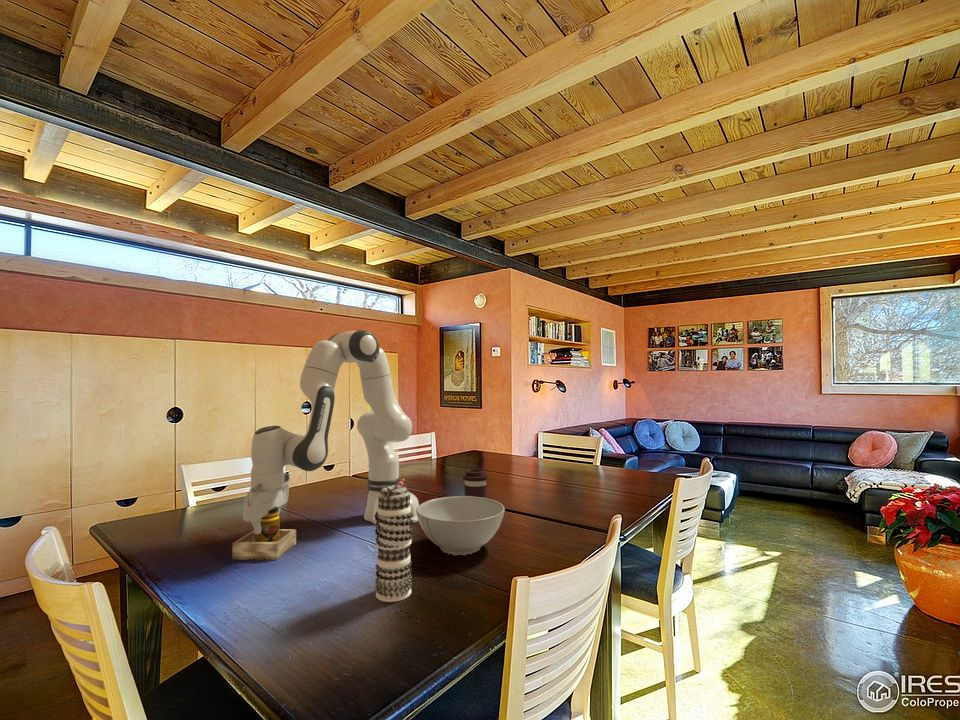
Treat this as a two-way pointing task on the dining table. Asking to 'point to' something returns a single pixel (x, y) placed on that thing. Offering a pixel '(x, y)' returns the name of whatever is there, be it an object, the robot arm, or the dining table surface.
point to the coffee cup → (475, 483)
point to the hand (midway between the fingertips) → (266, 527)
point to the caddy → (263, 546)
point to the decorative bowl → (460, 522)
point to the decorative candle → (393, 544)
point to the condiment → (270, 527)
